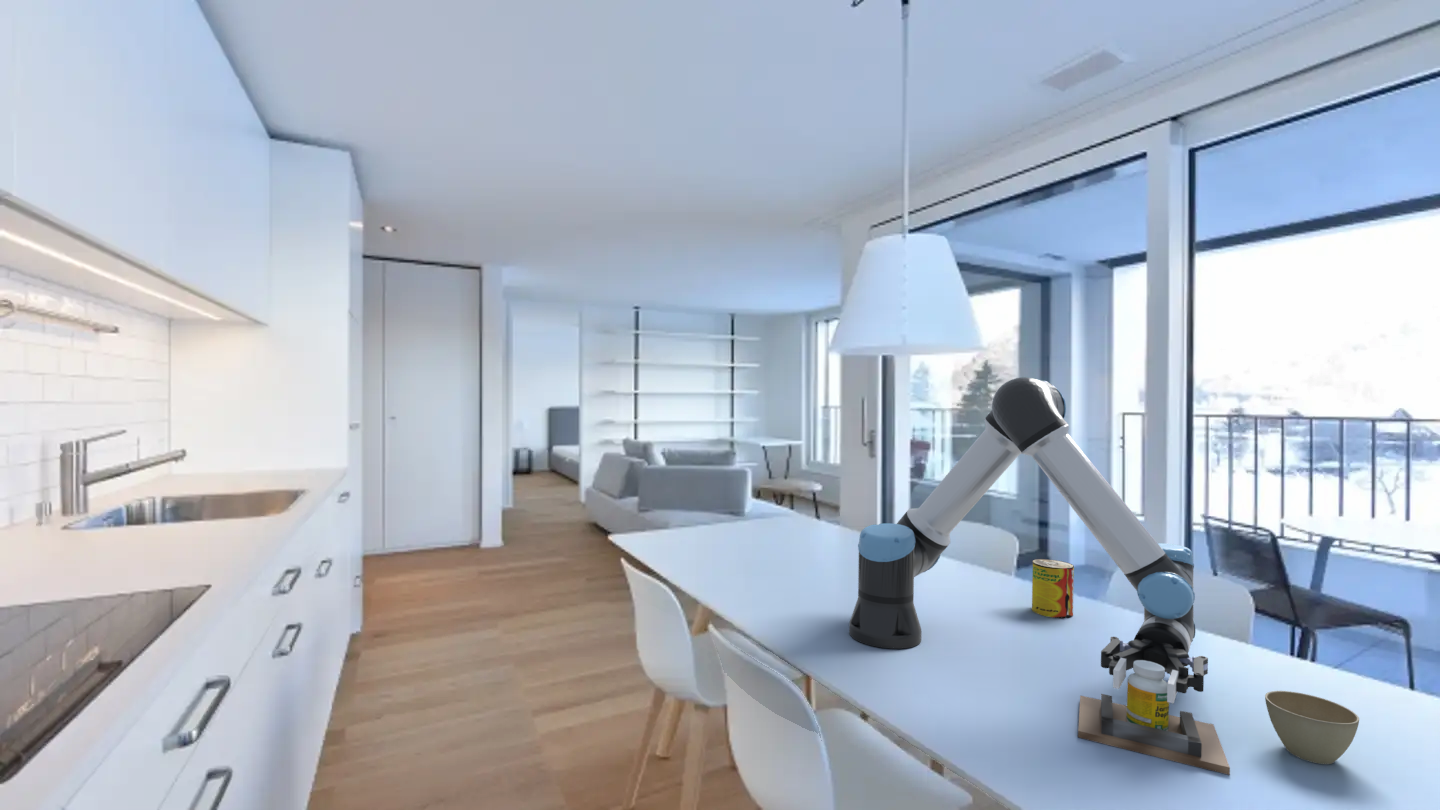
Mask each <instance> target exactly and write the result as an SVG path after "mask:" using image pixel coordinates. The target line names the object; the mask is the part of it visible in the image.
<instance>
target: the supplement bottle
mask: <svg viewBox="0 0 1440 810" xmlns="http://www.w3.org/2000/svg"><path fill="white" fill-rule="evenodd" d="M1132 670H1133V673H1131V674H1130V675H1129V676H1128V677H1127V692H1126V693H1127V694H1126V695H1127V698H1126V706H1127V722H1130V723H1134V724H1138V725H1143V726H1147V727H1152V728H1156V729H1160V730H1165V731H1168V721H1169V715H1170V703H1169V702H1167V683H1168V681H1166V680H1164V679H1165V677H1166V672H1165V668H1164V667H1163V666H1161V665H1159V664H1157V663H1154V662H1150V661H1145V660H1136V661H1134V663H1133V668H1132Z"/></svg>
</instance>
